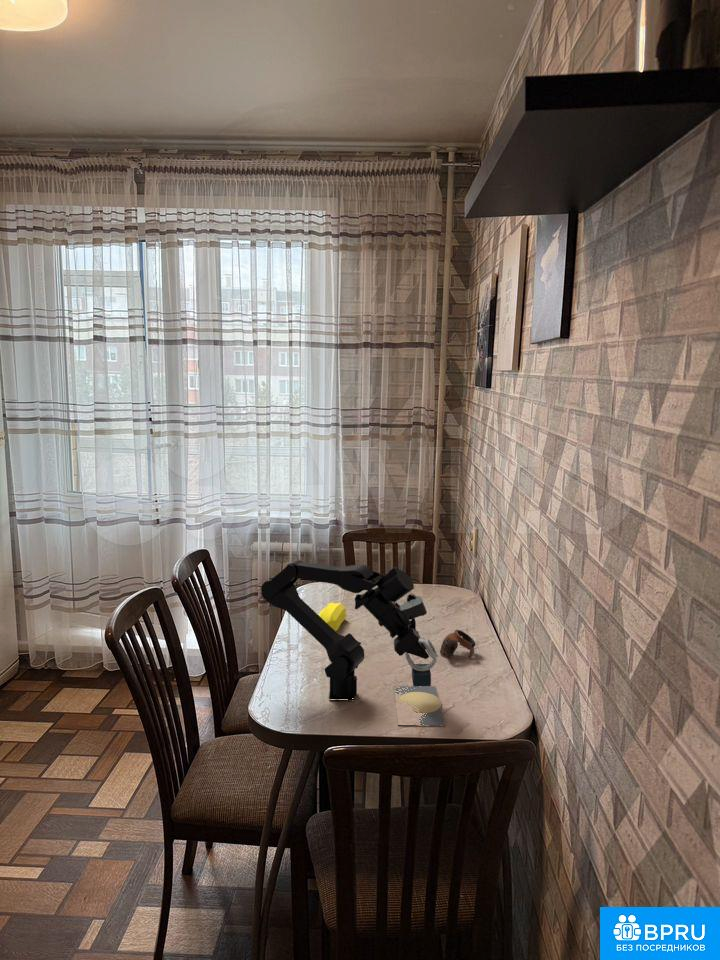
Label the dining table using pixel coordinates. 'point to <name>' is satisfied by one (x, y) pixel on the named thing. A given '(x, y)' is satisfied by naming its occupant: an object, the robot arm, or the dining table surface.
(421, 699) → the mat
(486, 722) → the dining table surface
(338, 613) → the yellow faceted lump
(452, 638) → the brown curved piece
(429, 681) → the watch
